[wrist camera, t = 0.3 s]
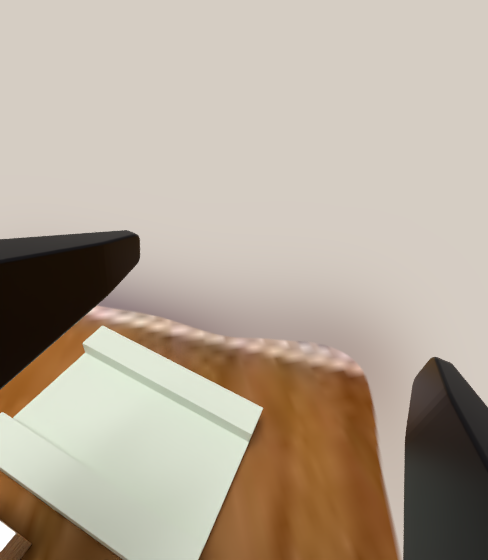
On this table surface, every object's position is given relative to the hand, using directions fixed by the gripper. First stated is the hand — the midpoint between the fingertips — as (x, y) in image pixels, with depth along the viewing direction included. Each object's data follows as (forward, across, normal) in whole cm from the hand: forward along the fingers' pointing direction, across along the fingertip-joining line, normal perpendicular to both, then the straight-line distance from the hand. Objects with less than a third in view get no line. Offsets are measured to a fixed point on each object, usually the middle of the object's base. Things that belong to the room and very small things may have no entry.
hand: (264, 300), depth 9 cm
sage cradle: (+1, +6, +16) cm, 17 cm away
